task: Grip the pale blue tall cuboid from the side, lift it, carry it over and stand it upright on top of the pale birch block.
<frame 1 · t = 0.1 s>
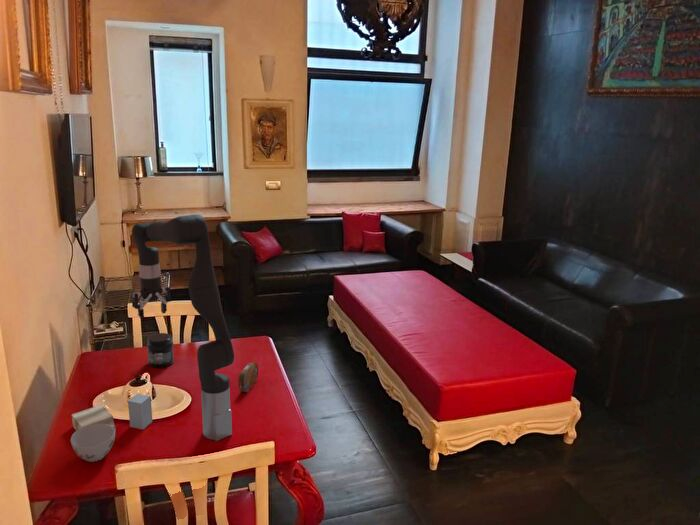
hand: (153, 315, 206), 29 cm above the table, tool pointing down, fingers open, 8 cm apart
supplement container: (161, 363, 231), on the table
pale blue tall cuboid: (141, 424, 186), on the table
birch block: (93, 428, 184), on the table
teacup: (98, 454, 170), on the table
tin: (248, 386, 215), on the table
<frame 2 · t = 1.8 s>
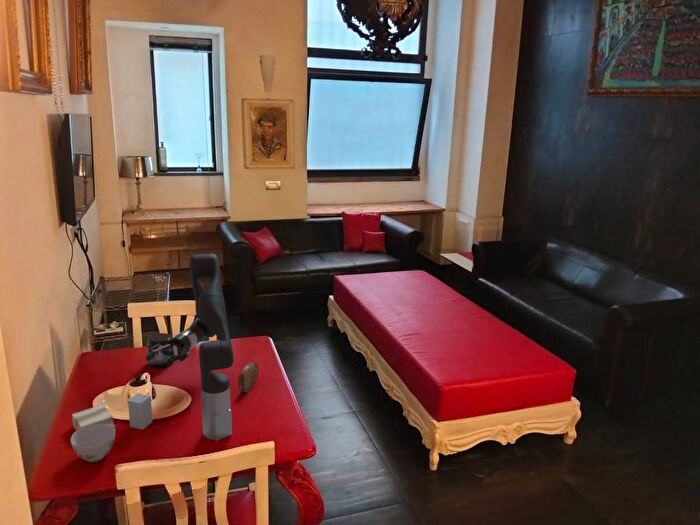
hand: (157, 360, 192), 19 cm above the table, tool horizontal, fingers open, 8 cm apart
nothing on the table moved.
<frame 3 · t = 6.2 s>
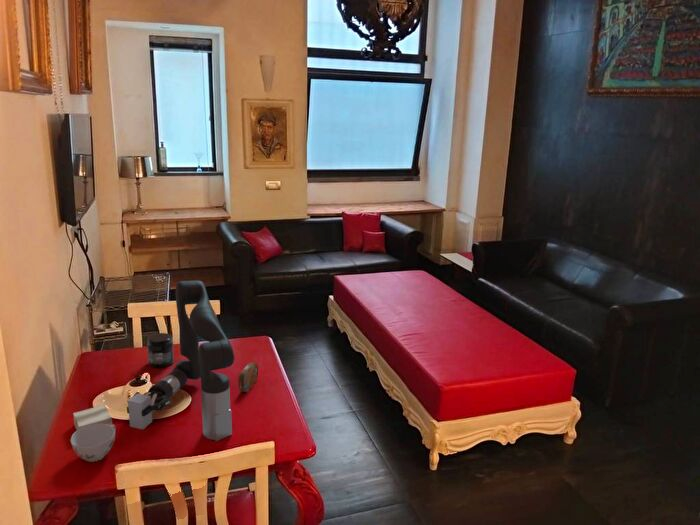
hand: (135, 412, 182), 6 cm above the table, tool horizontal, fingers closed on pale blue tall cuboid, 5 cm apart
pale blue tall cuboid: (141, 424, 186), on the table, touching gripper
everything else where it was.
when the fingers open (12 cm above the table, at t = 13.3 s): pale blue tall cuboid stays where it is, resting on birch block.
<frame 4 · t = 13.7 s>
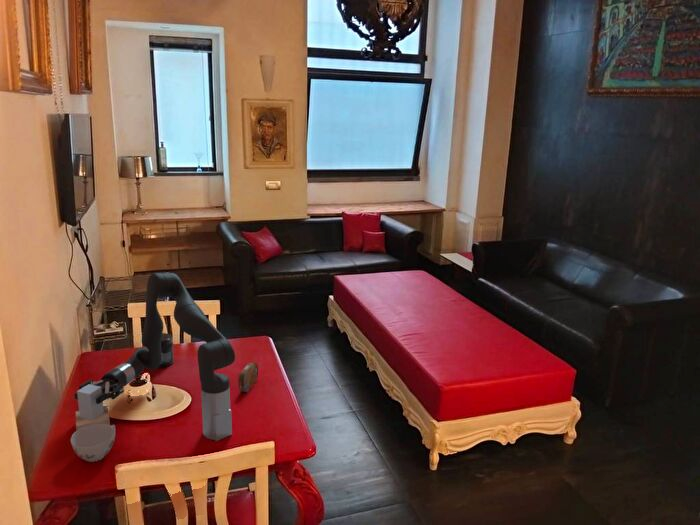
hand: (86, 399, 178), 12 cm above the table, tool horizontal, fingers open, 8 cm apart
pale blue tall cuboid: (92, 415, 182), point 5 cm above the table, touching birch block
birch block: (93, 428, 184), on the table, touching pale blue tall cuboid
everything else where it was.
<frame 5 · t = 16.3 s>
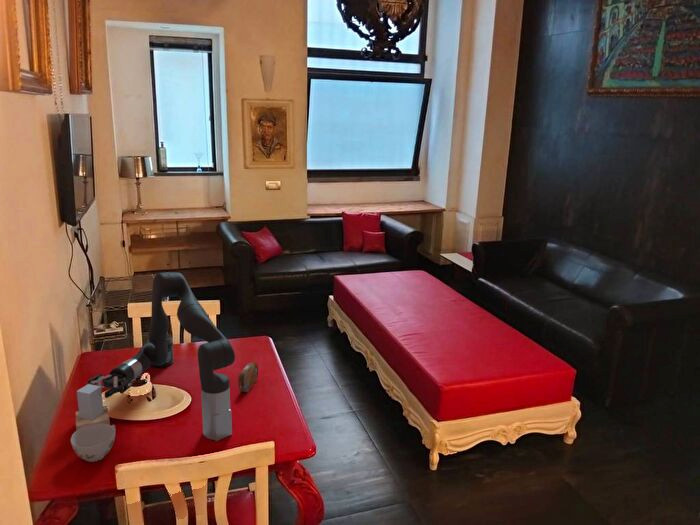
hand: (95, 393, 182), 12 cm above the table, tool horizontal, fingers open, 8 cm apart
nothing on the table moved.
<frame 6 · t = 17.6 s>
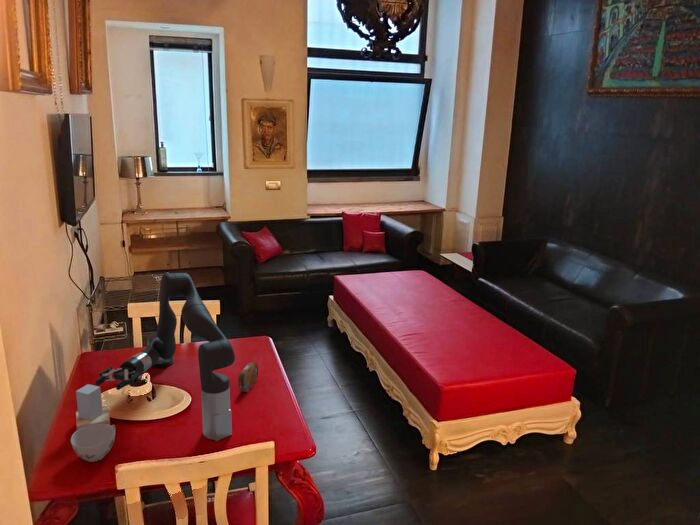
hand: (106, 385, 188), 12 cm above the table, tool horizontal, fingers open, 8 cm apart
nothing on the table moved.
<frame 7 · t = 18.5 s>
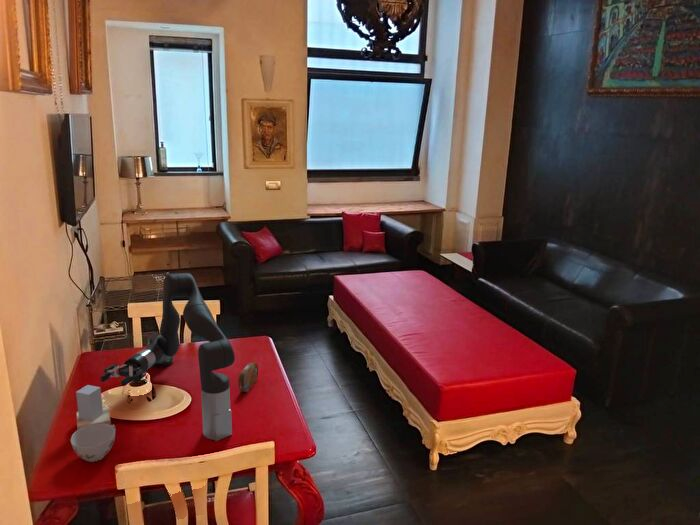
hand: (111, 381, 190), 12 cm above the table, tool horizontal, fingers open, 8 cm apart
supplement container: (161, 363, 231), on the table, touching arm
everything else where it was.
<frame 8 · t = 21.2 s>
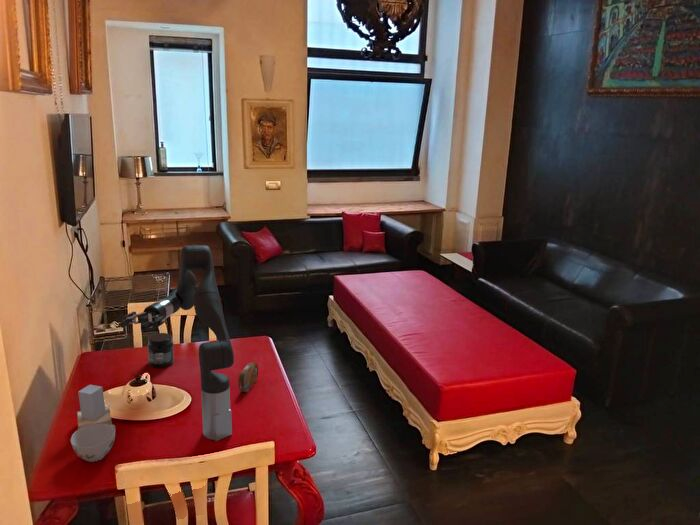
hand: (131, 326, 193), 30 cm above the table, tool horizontal, fingers open, 8 cm apart
supplement container: (161, 363, 231), on the table
everything else where it was.
at the end: pale blue tall cuboid 0.1 cm off-centre on the birch block, point 5.1 cm above the birch block's base; pale blue tall cuboid tilted 1°; the gripper is holding nothing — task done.
